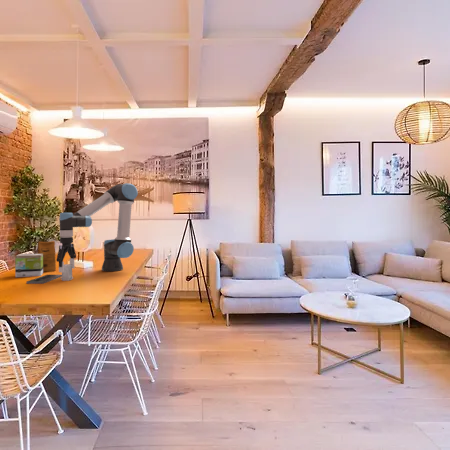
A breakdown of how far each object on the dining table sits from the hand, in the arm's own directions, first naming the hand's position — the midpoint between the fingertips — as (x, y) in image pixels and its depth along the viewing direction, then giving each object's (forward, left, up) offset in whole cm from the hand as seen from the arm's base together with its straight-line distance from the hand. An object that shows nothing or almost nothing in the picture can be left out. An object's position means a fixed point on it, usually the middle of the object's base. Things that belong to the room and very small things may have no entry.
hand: (66, 270), depth 202 cm
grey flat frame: (0, -14, -6) cm, 15 cm away
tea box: (-15, -33, -7) cm, 37 cm away
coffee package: (-33, -32, -7) cm, 46 cm away
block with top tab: (0, 0, -6) cm, 6 cm away
